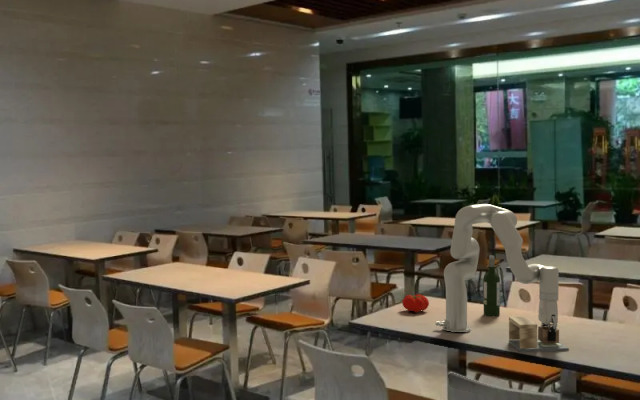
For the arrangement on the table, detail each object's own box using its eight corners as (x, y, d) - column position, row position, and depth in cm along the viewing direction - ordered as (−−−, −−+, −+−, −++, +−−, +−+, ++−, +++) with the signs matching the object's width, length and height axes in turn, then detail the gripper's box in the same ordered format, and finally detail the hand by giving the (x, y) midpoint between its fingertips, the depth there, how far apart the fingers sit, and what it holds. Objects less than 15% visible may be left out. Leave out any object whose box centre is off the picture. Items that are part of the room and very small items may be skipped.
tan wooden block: (520, 348, 271) (520, 324, 271) (508, 339, 285) (508, 316, 285) (537, 348, 271) (537, 324, 271) (525, 339, 286) (525, 316, 285)
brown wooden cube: (543, 343, 276) (543, 330, 275) (538, 339, 282) (538, 326, 282) (558, 343, 276) (559, 329, 275) (552, 339, 282) (553, 326, 282)
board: (520, 351, 271) (520, 342, 271) (508, 342, 286) (508, 333, 285) (568, 350, 272) (568, 341, 272) (554, 341, 286) (554, 332, 286)
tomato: (401, 314, 341) (401, 297, 341) (402, 309, 354) (402, 292, 353) (428, 315, 339) (428, 297, 339) (429, 309, 351) (428, 293, 351)
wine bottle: (482, 312, 342) (482, 254, 340) (498, 313, 341) (498, 254, 339) (484, 316, 334) (484, 256, 333) (500, 316, 333) (500, 257, 331)
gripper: (532, 292, 286) (532, 333, 287) (547, 300, 269) (547, 344, 270) (549, 292, 287) (549, 333, 288) (566, 300, 269) (565, 344, 270)
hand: (548, 338), depth 279 cm, fingers closed on brown wooden cube, 6 cm apart
